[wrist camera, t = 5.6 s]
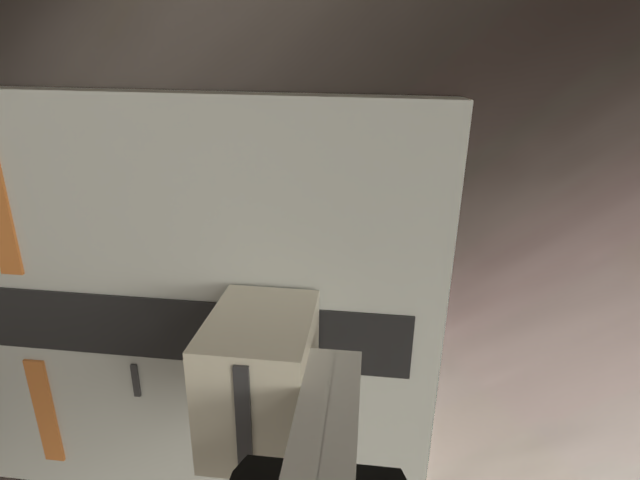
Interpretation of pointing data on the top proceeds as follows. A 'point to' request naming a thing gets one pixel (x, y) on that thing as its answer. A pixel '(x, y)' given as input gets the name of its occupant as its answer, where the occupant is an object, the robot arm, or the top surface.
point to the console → (214, 259)
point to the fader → (247, 374)
